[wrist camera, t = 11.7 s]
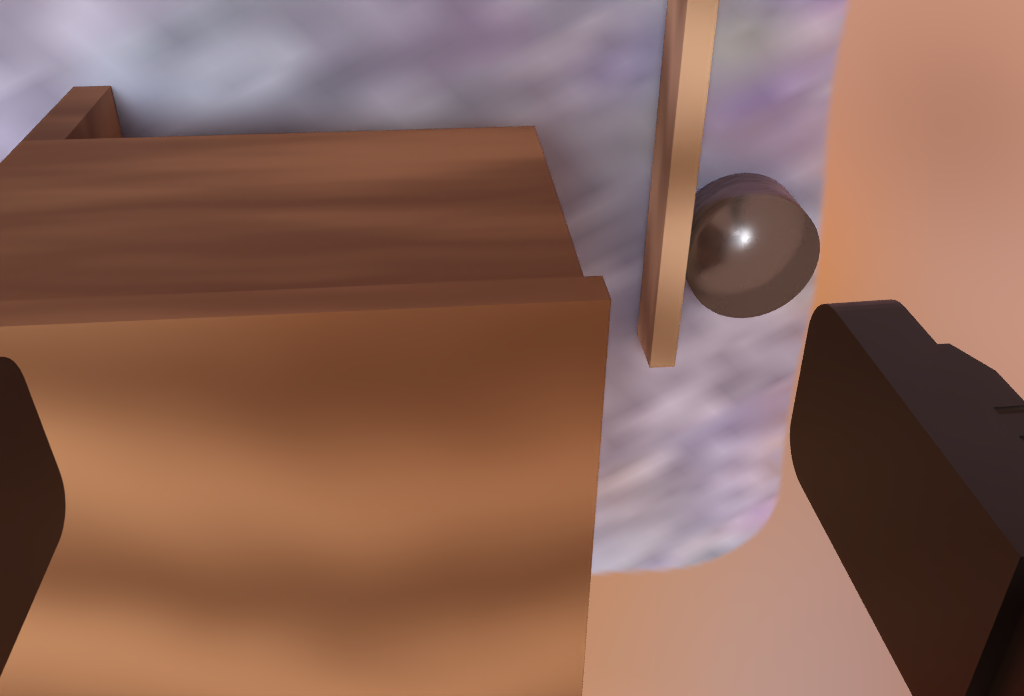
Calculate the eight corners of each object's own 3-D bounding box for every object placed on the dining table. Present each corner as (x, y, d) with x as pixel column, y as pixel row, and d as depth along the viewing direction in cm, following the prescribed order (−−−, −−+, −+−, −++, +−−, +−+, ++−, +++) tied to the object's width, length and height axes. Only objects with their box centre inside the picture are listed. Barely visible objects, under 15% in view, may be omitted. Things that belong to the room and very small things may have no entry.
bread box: (61, 78, 31) (-201, 335, 18) (546, 66, 32) (644, 298, 19) (153, 423, 39) (20, 779, 26) (538, 403, 40) (602, 732, 27)
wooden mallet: (644, -312, 26) (710, -326, 21) (780, -311, 27) (882, -324, 21) (601, 335, 39) (635, 441, 33) (695, 331, 39) (745, 435, 33)
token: (671, 181, 35) (687, 209, 33) (800, 163, 35) (825, 190, 33) (672, 293, 38) (687, 326, 36) (792, 277, 38) (814, 307, 36)
